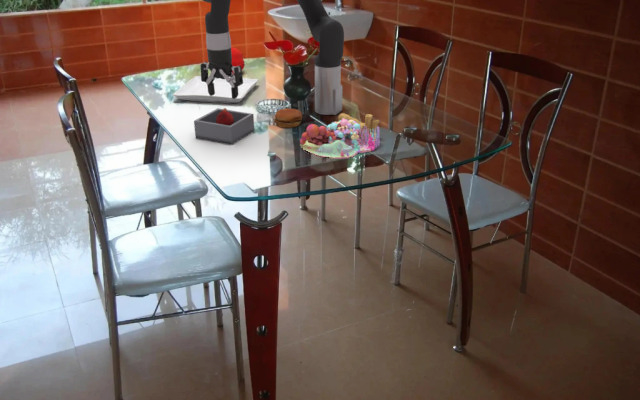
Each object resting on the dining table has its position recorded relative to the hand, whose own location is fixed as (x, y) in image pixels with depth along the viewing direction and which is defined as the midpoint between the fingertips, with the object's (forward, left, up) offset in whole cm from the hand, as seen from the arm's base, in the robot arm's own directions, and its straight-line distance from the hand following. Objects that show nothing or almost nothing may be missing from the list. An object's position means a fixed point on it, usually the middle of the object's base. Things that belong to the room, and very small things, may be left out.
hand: (223, 96), depth 207 cm
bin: (0, 0, -13) cm, 13 cm away
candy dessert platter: (-38, -8, -14) cm, 41 cm away
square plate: (+27, -37, -14) cm, 48 cm away
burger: (-14, -19, -14) cm, 27 cm away
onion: (0, 0, -12) cm, 12 cm away
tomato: (+38, -64, -13) cm, 76 cm away
